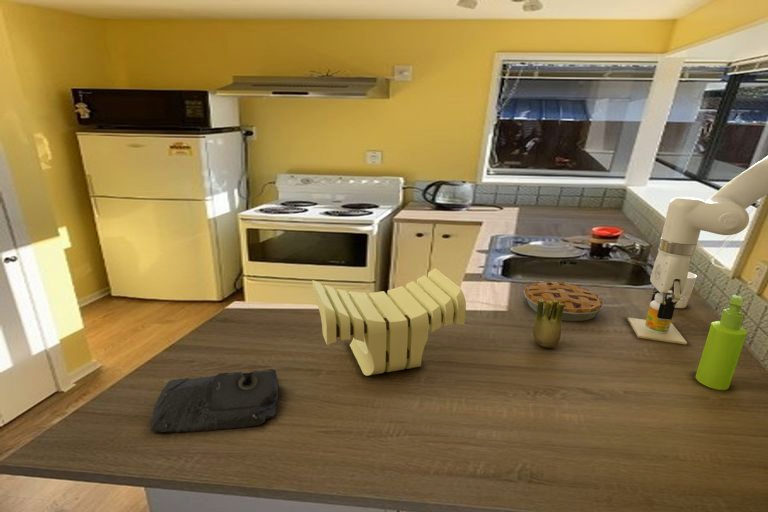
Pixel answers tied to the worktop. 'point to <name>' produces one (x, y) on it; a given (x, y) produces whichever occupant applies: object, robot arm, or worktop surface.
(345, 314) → the slatted curved stool
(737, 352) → the soap dispenser
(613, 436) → the worktop surface
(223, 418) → the dark slate chunk
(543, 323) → the fennel bulb
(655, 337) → the coaster
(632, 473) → the worktop surface
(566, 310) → the pie
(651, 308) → the supplement bottle
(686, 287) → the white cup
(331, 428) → the worktop surface
